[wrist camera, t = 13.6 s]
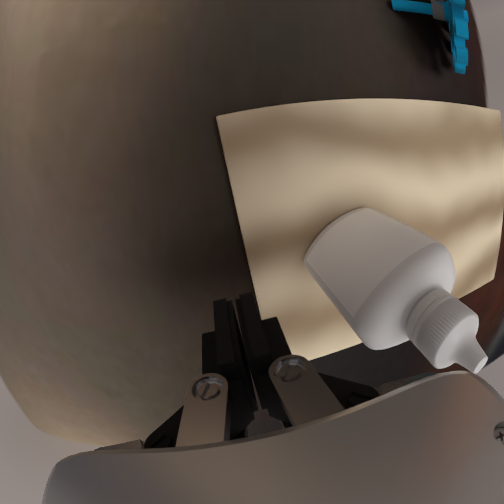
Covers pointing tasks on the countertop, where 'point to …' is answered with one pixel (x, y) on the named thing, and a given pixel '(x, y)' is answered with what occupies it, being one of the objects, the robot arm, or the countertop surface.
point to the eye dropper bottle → (395, 287)
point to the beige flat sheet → (359, 194)
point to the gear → (456, 20)
